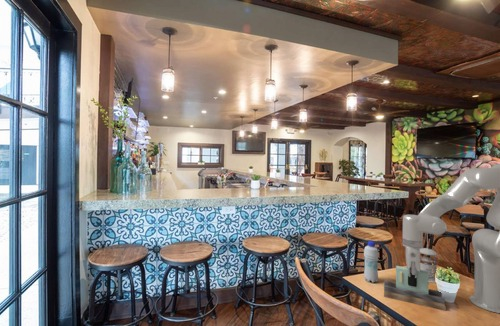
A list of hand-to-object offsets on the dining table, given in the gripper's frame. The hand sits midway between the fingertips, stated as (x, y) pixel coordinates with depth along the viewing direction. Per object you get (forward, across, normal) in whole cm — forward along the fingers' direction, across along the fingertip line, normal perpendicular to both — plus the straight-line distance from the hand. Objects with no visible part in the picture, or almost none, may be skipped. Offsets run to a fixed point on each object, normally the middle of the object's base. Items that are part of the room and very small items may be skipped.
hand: (411, 283), depth 112 cm
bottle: (+6, +8, +17) cm, 20 cm away
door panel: (+3, 0, 0) cm, 3 cm away
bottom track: (+6, 0, 0) cm, 6 cm away
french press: (+6, +26, -9) cm, 28 cm away
